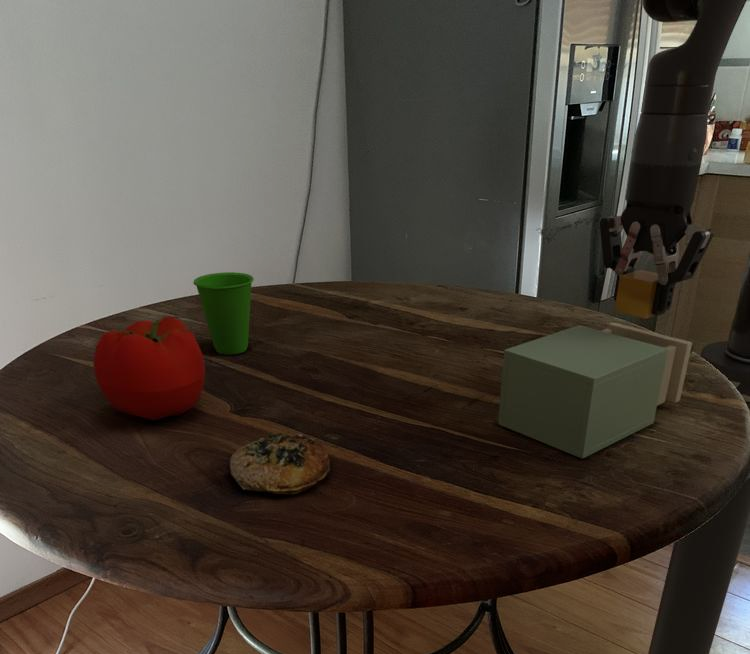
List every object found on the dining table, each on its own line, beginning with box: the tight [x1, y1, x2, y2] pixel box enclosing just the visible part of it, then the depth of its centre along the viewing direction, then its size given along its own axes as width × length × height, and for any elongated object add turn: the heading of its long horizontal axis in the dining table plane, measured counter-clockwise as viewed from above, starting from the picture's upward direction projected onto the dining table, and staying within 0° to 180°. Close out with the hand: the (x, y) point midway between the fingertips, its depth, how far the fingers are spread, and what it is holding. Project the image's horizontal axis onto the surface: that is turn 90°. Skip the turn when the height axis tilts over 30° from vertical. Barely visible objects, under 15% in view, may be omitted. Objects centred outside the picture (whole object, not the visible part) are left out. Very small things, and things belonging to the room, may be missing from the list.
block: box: [614, 269, 660, 320], centre depth 90 cm, size 4×4×4 cm
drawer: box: [600, 321, 694, 407], centre depth 95 cm, size 20×11×8 cm, turn 130°
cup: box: [193, 271, 255, 355], centre depth 114 cm, size 9×9×11 cm
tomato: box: [92, 316, 206, 422], centre depth 93 cm, size 13×14×12 cm
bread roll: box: [229, 433, 331, 496], centre depth 80 cm, size 11×11×5 cm
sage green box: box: [497, 324, 668, 459], centre depth 89 cm, size 15×13×10 cm
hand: (640, 309), depth 91 cm, fingers closed on block, 4 cm apart
